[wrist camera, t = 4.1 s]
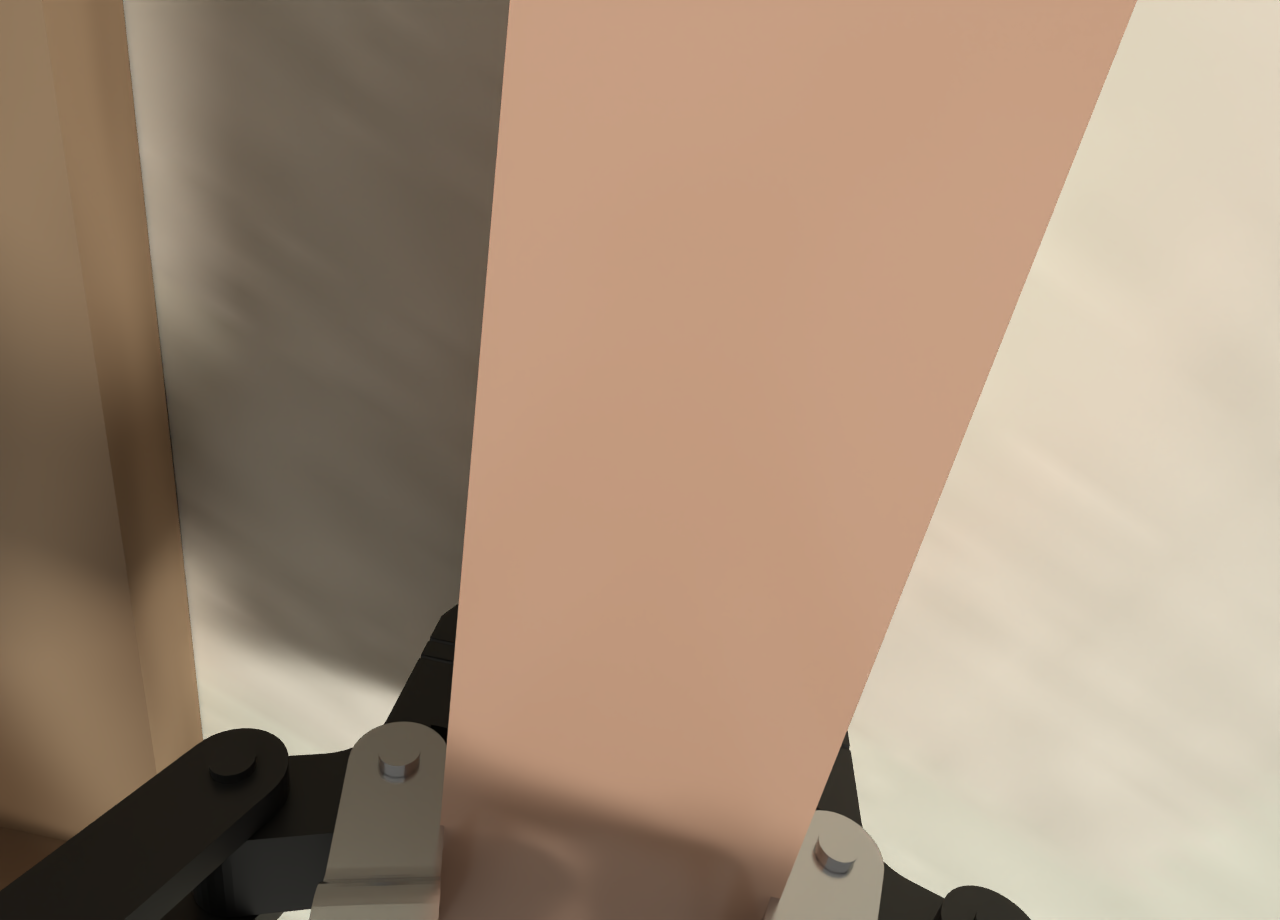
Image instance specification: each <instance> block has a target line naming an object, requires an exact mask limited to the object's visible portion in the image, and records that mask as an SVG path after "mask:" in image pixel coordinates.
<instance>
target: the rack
mask: <svg viewBox="0 0 1280 920" xmlns="http://www.w3.org/2000/svg"><path fill="white" fill-rule="evenodd" d="M202 741H203V737H202V727H201V718H200V709H199V700H198V691H197V681H196V672H195V663H194V654H193V644H192V635H191V626H190V617H189V608H188V598H187V589H186V580H185V571H184V562H183V552H182V543H181V534H180V525H179V516H178V506H177V497H176V488H175V479H174V470H173V460H172V451H171V442H170V433H169V423H168V414H167V405H166V396H165V387H164V377H163V368H162V359H161V350H160V341H159V331H158V322H157V313H156V304H155V295H154V285H153V276H152V267H151V258H150V248H149V239H148V230H147V221H146V212H145V202H144V193H143V184H142V175H141V166H140V156H139V147H138V138H137V129H136V120H135V110H134V101H133V92H132V83H131V74H130V64H129V55H128V46H127V37H126V27H125V18H124V9H123V0H0V891H1V890H2V889H4V888H5V887H6V886H8V885H9V884H10V883H12V882H13V881H14V880H16V879H17V878H18V877H20V876H21V875H22V874H24V873H25V872H26V871H28V870H29V869H30V868H32V867H33V866H34V865H36V864H37V863H38V862H40V861H41V860H42V859H44V858H45V857H47V856H48V855H49V854H51V853H52V852H53V851H55V850H56V849H57V848H59V847H60V846H61V845H63V844H64V843H65V842H67V841H68V840H69V839H71V838H72V837H73V836H75V835H76V834H77V833H79V832H80V831H81V830H83V829H84V828H85V827H87V826H88V825H89V824H91V823H92V822H94V821H95V820H96V819H98V818H99V817H100V816H102V815H103V814H104V813H106V812H107V811H108V810H110V809H111V808H112V807H114V806H115V805H116V804H118V803H119V802H120V801H122V800H123V799H124V798H126V797H127V796H128V795H130V794H131V793H132V792H134V791H135V790H136V789H138V788H139V787H140V786H142V785H143V784H145V783H146V782H147V781H149V780H150V779H151V778H153V777H154V776H155V775H157V774H158V773H159V772H161V771H162V770H163V769H165V768H166V767H167V766H169V765H170V764H171V763H173V762H174V761H175V760H177V759H178V758H179V757H181V756H182V755H183V754H185V753H186V752H187V751H189V750H190V749H192V748H193V747H194V746H196V745H197V744H198V743H200V742H202Z"/></svg>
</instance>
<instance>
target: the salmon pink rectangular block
mask: <svg viewBox="0 0 1280 920" xmlns="http://www.w3.org/2000/svg"><path fill="white" fill-rule="evenodd" d="M1136 1H1137V0H510V4H509V15H508V27H507V39H506V51H505V63H504V74H503V86H502V98H501V110H500V122H499V134H498V145H497V157H496V169H495V181H494V193H493V204H492V216H491V228H490V240H489V252H488V263H487V275H486V287H485V299H484V311H483V323H482V334H481V346H480V358H479V370H478V382H477V393H476V405H475V417H474V429H473V441H472V452H471V464H470V476H469V488H468V500H467V512H466V523H465V535H464V547H463V559H462V571H461V582H460V594H459V606H458V618H457V630H456V641H455V653H454V665H453V677H452V689H451V701H450V712H449V724H448V736H447V748H446V760H445V771H444V783H443V795H442V807H441V819H440V825H443V826H444V836H443V850H442V865H441V888H440V903H439V918H438V920H762V918H763V915H764V913H765V910H766V907H767V905H768V902H769V900H770V897H775V898H781V896H782V893H783V891H784V888H785V886H786V883H787V881H788V878H789V876H790V873H791V871H792V868H793V866H794V863H795V861H796V858H797V856H798V853H799V850H800V848H801V845H802V843H803V840H804V838H805V835H806V833H807V830H808V828H809V825H810V823H811V820H812V818H813V815H814V813H815V810H816V808H817V805H818V803H819V800H820V798H821V795H822V793H823V790H824V787H825V785H826V782H827V780H828V777H829V775H830V772H831V770H832V767H833V765H834V762H835V760H836V757H837V755H838V752H839V750H840V747H841V745H842V742H843V740H844V737H845V735H846V732H847V730H848V727H849V725H850V722H851V719H852V717H853V714H854V712H855V709H856V707H857V704H858V702H859V699H860V697H861V694H862V692H863V689H864V687H865V684H866V682H867V679H868V677H869V674H870V672H871V669H872V667H873V664H874V662H875V659H876V656H877V654H878V651H879V649H880V646H881V644H882V641H883V639H884V636H885V634H886V631H887V629H888V626H889V624H890V621H891V619H892V616H893V614H894V611H895V609H896V606H897V604H898V601H899V599H900V596H901V594H902V591H903V588H904V586H905V583H906V581H907V578H908V576H909V573H910V571H911V568H912V566H913V563H914V561H915V558H916V556H917V553H918V551H919V548H920V546H921V543H922V541H923V538H924V536H925V533H926V531H927V528H928V525H929V523H930V520H931V518H932V515H933V513H934V510H935V508H936V505H937V503H938V500H939V498H940V495H941V493H942V490H943V488H944V485H945V483H946V480H947V478H948V475H949V473H950V470H951V468H952V465H953V463H954V460H955V457H956V455H957V452H958V450H959V447H960V445H961V442H962V440H963V437H964V435H965V432H966V430H967V427H968V425H969V422H970V420H971V417H972V415H973V412H974V410H975V407H976V405H977V402H978V400H979V397H980V394H981V392H982V389H983V387H984V384H985V382H986V379H987V377H988V374H989V372H990V369H991V367H992V364H993V362H994V359H995V357H996V354H997V352H998V349H999V347H1000V344H1001V342H1002V339H1003V337H1004V334H1005V332H1006V329H1007V326H1008V324H1009V321H1010V319H1011V316H1012V314H1013V311H1014V309H1015V306H1016V304H1017V301H1018V299H1019V296H1020V294H1021V291H1022V289H1023V286H1024V284H1025V281H1026V279H1027V276H1028V274H1029V271H1030V269H1031V266H1032V263H1033V261H1034V258H1035V256H1036V253H1037V251H1038V248H1039V246H1040V243H1041V241H1042V238H1043V236H1044V233H1045V231H1046V228H1047V226H1048V223H1049V221H1050V218H1051V216H1052V213H1053V211H1054V208H1055V206H1056V203H1057V201H1058V198H1059V195H1060V193H1061V190H1062V188H1063V185H1064V183H1065V180H1066V178H1067V175H1068V173H1069V170H1070V168H1071V165H1072V163H1073V160H1074V158H1075V155H1076V153H1077V150H1078V148H1079V145H1080V143H1081V140H1082V138H1083V135H1084V132H1085V130H1086V127H1087V125H1088V122H1089V120H1090V117H1091V115H1092V112H1093V110H1094V107H1095V105H1096V102H1097V100H1098V97H1099V95H1100V92H1101V90H1102V87H1103V85H1104V82H1105V80H1106V77H1107V75H1108V72H1109V70H1110V67H1111V64H1112V62H1113V59H1114V57H1115V54H1116V52H1117V49H1118V47H1119V44H1120V42H1121V39H1122V37H1123V34H1124V32H1125V29H1126V27H1127V24H1128V22H1129V19H1130V17H1131V14H1132V12H1133V9H1134V7H1135V4H1136Z"/></svg>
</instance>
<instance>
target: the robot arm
mask: <svg viewBox="0 0 1280 920" xmlns="http://www.w3.org/2000/svg"><path fill="white" fill-rule="evenodd" d="M458 606H459V604H457V605H456V606H454V607H453V608H452V609H450V610H449V611H448V612H446V613H445V614H444V615H442V616H441V618H440V620H439V622H438V624H437V626H436V628H435V630H434V631H433V633H432V635H431V637H430V641H428V643H427V645H426V647H425V648H424V650H423V652H422V655H421V658H419V660H418V662H417V664H416V666H415V667H414V669H413V671H412V673H411V675H410V677H409V679H408V681H407V683H406V684H405V686H404V688H403V690H402V692H401V694H400V696H399V698H398V700H397V701H396V703H395V705H394V707H393V709H392V711H391V713H390V715H389V717H388V719H387V720H386V722H385V723H384V725H381V726H379V727H376V728H374V729H372V730H371V731H369V732H367V733H366V734H365V735H363V736H362V737H361V738H360V739H359V740H358V741H357V743H356V744H355V745H354V747H353V748H350V749H347V750H344V751H340V752H335V753H327V754H313V755H296V756H288V752H287V749H286V747H285V745H284V743H283V742H282V741H281V740H280V739H279V738H277V737H276V736H275V735H273V734H271V733H269V732H266V731H263V730H259V729H251V728H241V729H233V730H228V731H224V732H221V733H218V734H215V735H213V736H211V737H209V738H207V739H205V740H203V741H202V742H200V743H198V744H197V745H196V746H194V747H193V748H192V749H190V750H189V751H187V752H186V753H185V754H183V755H182V756H181V757H179V758H178V759H177V760H175V761H174V762H173V763H171V764H170V765H169V766H167V767H166V768H165V769H163V770H162V771H161V772H159V773H158V774H157V775H155V776H154V777H153V778H151V779H150V780H149V781H147V782H146V783H145V784H143V785H142V786H140V787H139V788H138V789H136V790H135V791H134V792H132V793H131V794H130V795H128V796H127V797H126V798H124V799H123V800H122V801H120V802H119V803H118V804H116V805H115V806H114V807H112V808H111V809H110V810H108V811H107V812H106V813H104V814H103V815H102V816H100V817H99V818H98V819H96V820H95V821H94V822H92V823H91V824H89V825H88V826H87V827H85V828H84V829H83V830H81V831H80V832H79V833H77V834H76V835H75V836H73V837H72V838H71V839H69V840H68V841H67V842H65V843H64V844H63V845H61V846H60V847H59V848H57V849H56V850H55V851H53V852H52V853H51V854H49V855H48V856H47V857H45V858H44V859H42V860H41V861H40V862H38V863H37V864H36V865H34V866H33V867H32V868H30V869H29V870H28V871H26V872H25V873H24V874H22V875H21V876H20V877H18V878H17V879H16V880H14V881H13V882H12V883H10V884H9V885H8V886H6V887H5V888H4V889H2V890H1V891H0V920H277V919H278V918H279V917H280V916H281V915H282V913H283V912H287V911H296V910H304V909H311V913H310V918H309V920H438V918H439V903H440V888H441V865H442V850H443V836H444V826H443V825H440V819H441V807H442V795H443V783H444V771H445V760H446V748H447V736H448V724H449V712H450V701H451V689H452V677H453V665H454V653H455V641H456V630H457V618H458ZM849 746H850V744H849V737H848V731H847V732H846V735H845V737H844V740H843V742H842V745H841V747H840V750H839V752H838V755H837V757H836V760H835V762H834V765H833V767H832V770H831V772H830V775H829V777H828V780H827V782H826V785H825V787H824V790H823V793H822V795H821V798H820V800H819V803H818V805H817V808H816V810H815V813H814V815H813V818H812V820H811V823H810V825H809V828H808V830H807V833H806V835H805V838H804V840H803V843H802V845H801V848H800V850H799V853H798V856H797V858H796V861H795V863H794V866H793V868H792V871H791V873H790V876H789V878H788V881H787V883H786V886H785V888H784V891H783V893H782V896H781V898H775V897H770V900H769V902H768V905H767V907H766V910H765V913H764V915H763V918H762V920H1031V919H1030V918H1029V917H1028V916H1027V915H1026V914H1025V913H1024V912H1023V911H1022V910H1021V909H1020V908H1019V907H1018V906H1017V905H1015V904H1014V903H1013V902H1011V901H1010V900H1009V899H1007V898H1006V897H1004V896H1002V895H1001V894H999V893H997V892H994V891H992V890H990V889H987V888H983V887H979V886H962V887H958V888H956V889H953V890H952V891H951V892H949V893H948V894H947V896H946V897H945V899H944V898H942V897H941V896H939V895H937V894H935V893H933V892H931V891H929V890H927V889H925V888H923V887H921V886H919V885H917V884H915V883H913V882H911V881H909V880H908V879H906V878H904V877H903V876H901V875H899V874H898V873H897V872H895V871H894V870H893V869H891V868H890V867H889V866H888V865H887V864H886V863H885V862H883V858H882V855H881V852H880V850H879V848H878V846H877V844H876V843H875V841H874V840H873V839H872V837H871V836H870V835H869V834H868V833H867V832H866V831H865V830H864V829H863V827H862V823H861V816H860V810H859V803H858V797H857V790H856V783H855V777H854V770H853V764H852V757H851V751H850V750H849Z"/></svg>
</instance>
